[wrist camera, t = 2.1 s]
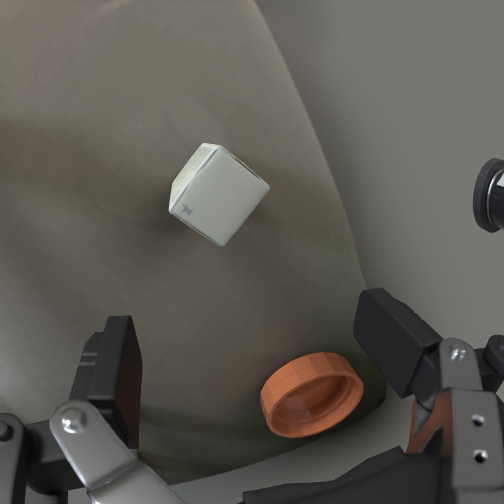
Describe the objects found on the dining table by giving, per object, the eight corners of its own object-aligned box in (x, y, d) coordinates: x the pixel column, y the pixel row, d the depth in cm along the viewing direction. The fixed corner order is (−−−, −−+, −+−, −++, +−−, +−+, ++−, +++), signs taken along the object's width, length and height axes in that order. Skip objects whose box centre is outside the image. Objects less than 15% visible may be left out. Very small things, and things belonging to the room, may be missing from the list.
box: (206, 209, 29) (219, 253, 19) (170, 183, 28) (163, 214, 18) (240, 166, 28) (273, 187, 18) (205, 138, 27) (218, 143, 17)
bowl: (357, 340, 41) (374, 362, 36) (338, 403, 46) (350, 424, 42) (260, 357, 38) (270, 384, 34) (257, 420, 43) (265, 445, 39)
